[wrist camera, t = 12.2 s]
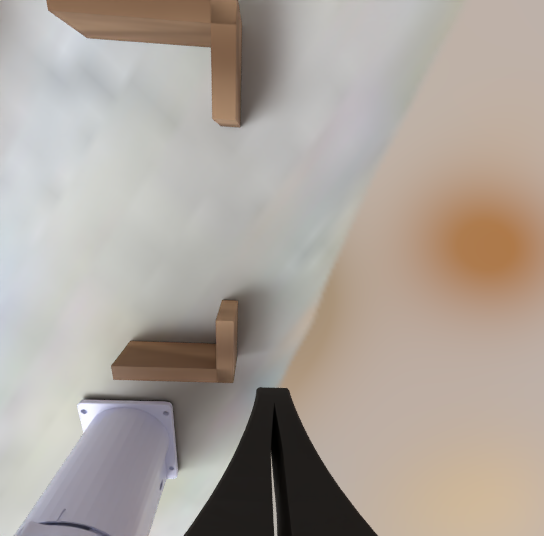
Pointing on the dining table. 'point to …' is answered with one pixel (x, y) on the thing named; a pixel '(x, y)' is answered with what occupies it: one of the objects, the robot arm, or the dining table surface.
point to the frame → (225, 111)
